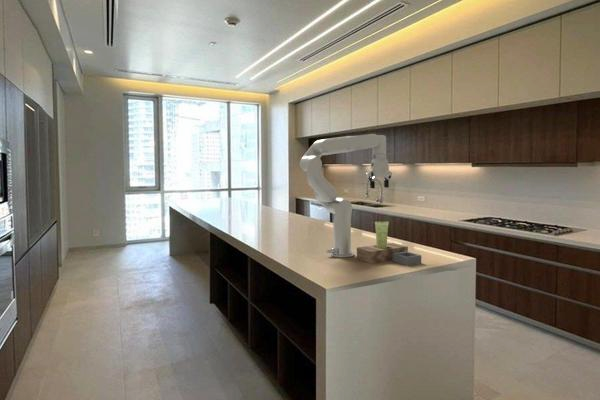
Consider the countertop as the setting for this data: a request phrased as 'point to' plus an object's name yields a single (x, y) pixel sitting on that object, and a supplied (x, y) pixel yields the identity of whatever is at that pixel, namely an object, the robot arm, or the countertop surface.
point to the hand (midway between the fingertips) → (379, 187)
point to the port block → (379, 252)
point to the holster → (406, 258)
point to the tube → (381, 234)
